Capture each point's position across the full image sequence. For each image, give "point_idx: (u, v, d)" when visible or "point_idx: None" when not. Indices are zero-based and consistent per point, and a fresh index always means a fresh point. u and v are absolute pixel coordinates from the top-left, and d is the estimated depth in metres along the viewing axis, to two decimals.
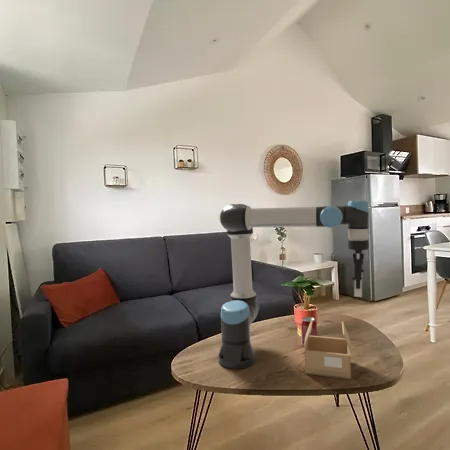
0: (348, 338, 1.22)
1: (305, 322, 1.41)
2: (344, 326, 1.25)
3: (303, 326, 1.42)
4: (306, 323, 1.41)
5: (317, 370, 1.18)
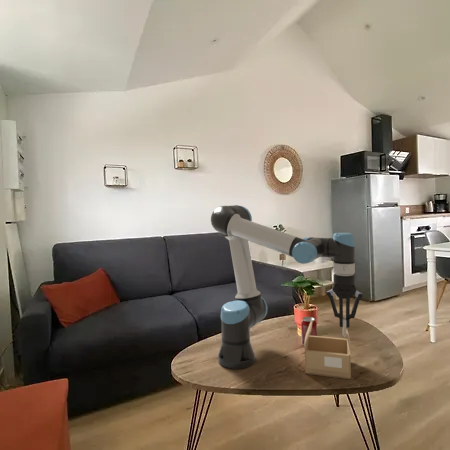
0: (349, 338, 1.22)
1: (305, 322, 1.41)
2: None
3: (303, 326, 1.42)
4: (306, 323, 1.41)
5: (317, 370, 1.18)
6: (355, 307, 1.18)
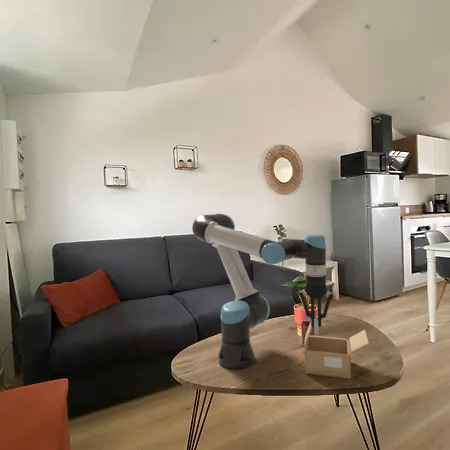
0: None
1: (305, 322, 1.41)
2: None
3: (303, 326, 1.42)
4: (306, 323, 1.41)
5: (317, 370, 1.18)
6: (326, 307, 1.21)
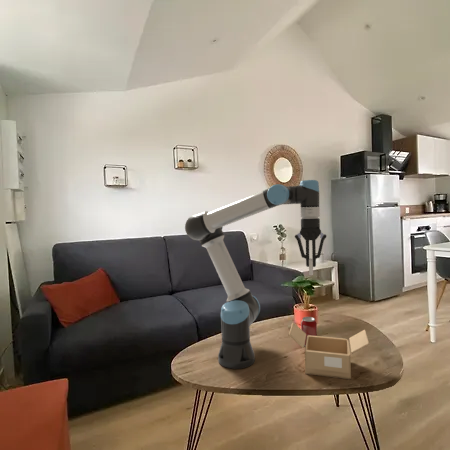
0: None
1: (305, 322, 1.41)
2: None
3: (303, 326, 1.42)
4: (306, 323, 1.41)
5: (317, 370, 1.18)
6: (320, 247, 1.29)
